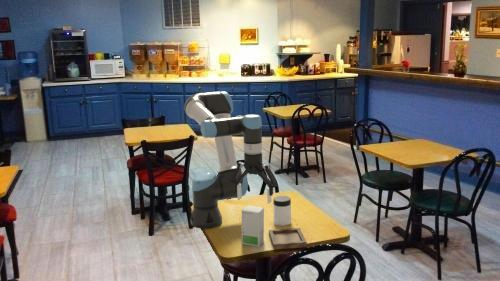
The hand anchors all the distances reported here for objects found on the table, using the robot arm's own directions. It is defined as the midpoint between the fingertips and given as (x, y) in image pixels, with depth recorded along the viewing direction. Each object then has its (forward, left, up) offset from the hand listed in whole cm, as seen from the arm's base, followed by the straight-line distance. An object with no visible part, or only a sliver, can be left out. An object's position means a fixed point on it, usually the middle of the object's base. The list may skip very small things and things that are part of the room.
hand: (254, 200), depth 198 cm
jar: (+3, +24, -19) cm, 31 cm away
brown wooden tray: (+12, +6, -19) cm, 23 cm away
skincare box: (-1, -1, -19) cm, 19 cm away
